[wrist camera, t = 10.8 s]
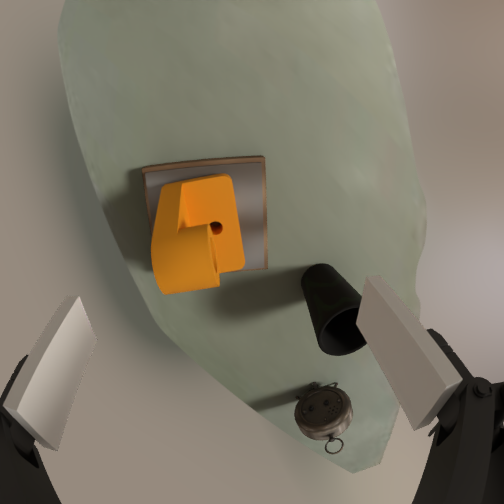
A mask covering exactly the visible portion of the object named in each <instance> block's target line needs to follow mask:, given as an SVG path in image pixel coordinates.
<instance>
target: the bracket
mask: <svg viewBox="0 0 504 504" xmlns="http://www.w3.org/2000/svg"><path fill="white" fill-rule="evenodd" d="M214 221H217V222H220V223H221V225H220V226H218V227H214V226H212V225H211V224H210V223H211V222H214ZM151 259H152V266H153V271H154V275H155V278H156V281H157V284H158V286H159V288H160V290H161V291H162V293H164V294H165V295H167V294H173V293H180V292H187V291H193V290H200V289H206V288H212V287H219V285H220V277H219V273H223V272H229V271H235V270H240V269H242V268H243V267H244V265H245V257H244V250H243V244H242V238H241V232H240V226H239V220H238V214H237V207H236V201H235V195H234V189H233V183H232V179H231V177H230V176H229V175H227V174H225V173H221V174H215V175H210V176H204V177H199V178H193V179H188V180H183V181H178V182H174V183H169V184H165V185H164V186H163V187H162V189H161V193H160V198H159V203H158V208H157V214H156V219H155V225H154V230H153V236H152V242H151Z"/></svg>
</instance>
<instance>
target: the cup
mask: <svg viewBox="0 0 504 504" xmlns="http://www.w3.org/2000/svg"><path fill="white" fill-rule="evenodd" d="M301 286H302V289H303V292H304V296H305V299H306V302H307V306H308V309H309V313H310V316H311V320H312V323H313V327H314V330H315V334H316V337H317V341H318V344H319V347H320V348H321V350H322V351H323V352H325V353H326V354H329V355H334V356H341V355H347V354H350V353H353V352H355V351H357V350H359V349H360V348H362V347H363V346H365V345H366V344H367V342H366V340H365V338H364V337H363V335H362V333H361V331H360V330H359V328H358V326H357V325H356V321H357V317H358V313H359V308H360V304H361V299H362V296H361V295H360V294H359V293H358V292H357V291H356V290H355V289H354V288H353V287H352V286H351V285H350V284H349V283H348V282H347V281H346V280H345V279H344V278H343V277H342V276H341V275H340V274H339V273H338V272H337V271H336V270H335V269H334V268H333V267H332V266H330V265H328V264H316V265H314V266H312V267H310V268H309V269H308V270H307V271H306V272H305V273H304V275H303V277H302V280H301Z"/></svg>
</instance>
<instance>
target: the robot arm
mask: <svg viewBox="0 0 504 504" xmlns="http://www.w3.org/2000/svg"><path fill="white" fill-rule="evenodd" d="M356 325H357V326H358V328H359V330H360V331H361V333H362V335H363V337H364V338H365V340H366V342H367V344H368V345H369V347H370V349H371V351H372V352H373V354H374V356H375V358H376V360H377V361H378V363H379V365H380V367H381V369H382V370H383V372H384V374H385V376H386V378H387V380H388V381H389V383H390V385H391V387H392V389H393V391H394V393H395V395H396V396H397V398H398V400H399V402H400V404H401V406H402V408H403V410H404V412H405V414H406V416H407V418H408V420H409V422H410V424H411V426H412V428H413V430H414V431H415V430H417V429H419V428H422V427H424V426H426V425H429V424H430V423H431V422H432V420H433V419H434V418H435V417H436V416H437V417H438V419H439V422H438V423H437V424H436V426H435V427H434V428H433V429H432V430H431V431H430V433H429V435H428V436H431V435H432V434H433V433H434V432H435V434H434V438H433V442H432V446H431V449H430V453H429V456H428V460H427V463H426V466H425V469H424V472H423V475H422V478H421V481H420V484H419V487H418V490H417V492H416V495H415V497H414V500H413V502H412V504H504V426H503V422H504V382H501V383H494V384H491V383H490V382H489V381H488V380H486V379H484V378H481V377H475V378H474V377H473V376H472V375H471V373H470V372H469V371H468V369H467V368H466V367H465V366H464V364H463V363H462V361H461V360H460V359H459V357H458V356H457V355H456V353H455V352H453V350H452V348H451V347H450V346H448V343H447V342H446V341H445V339H444V338H443V337H442V336H441V335H440V334H439V333H437V332H436V331H434V330H433V329H427V330H426V329H425V328H424V327H423V325H421V323H420V322H419V320H418V319H417V318H416V317H415V316H414V314H413V313H412V312H411V311H410V309H409V308H408V307H407V306H406V305H405V303H404V302H403V301H402V300H401V299H400V298H399V296H398V295H397V294H396V293H395V292H394V291H393V289H392V288H391V287H390V286H389V285H388V284H387V283H386V281H385V280H384V279H383V278H382V277H381V276H380V275H378V276H370V277H366V280H365V285H364V290H363V295H362V299H361V304H360V308H359V313H358V317H357V321H356ZM96 343H97V338H96V336H95V333H94V331H93V329H92V326H91V324H90V322H89V319H88V317H87V314H86V312H85V309H84V307H83V304H82V302H81V299H80V296H66V298H65V299H64V301H63V302H62V303H61V305H60V306H59V308H58V309H57V311H56V312H55V314H54V315H53V317H52V318H51V320H50V321H49V323H48V324H47V326H46V328H45V329H44V331H43V332H42V334H41V335H40V337H39V339H38V340H37V342H36V344H35V345H34V347H33V349H32V350H31V352H30V354H29V355H26V356H25V357H24V358H23V359H22V360H21V361H20V362H19V363H18V365H17V367H16V369H15V370H14V373H13V374H12V376H11V378H10V380H9V382H8V383H7V386H6V388H5V389H4V391H3V393H2V395H1V398H0V504H61V502H60V500H59V498H58V496H57V494H56V492H55V490H54V488H53V486H52V484H51V481H50V479H49V477H48V475H47V472H46V470H45V467H44V465H43V462H42V460H41V457H40V455H39V452H38V449H37V448H36V446H35V445H34V442H35V440H37V441H38V442H39V443H40V444H41V445H42V446H43V447H46V448H49V449H52V450H55V451H58V448H59V445H60V441H61V438H62V435H63V431H64V428H65V425H66V422H67V418H68V415H69V413H70V409H71V407H72V404H73V401H74V398H75V395H76V393H77V390H78V387H79V385H80V382H81V379H82V377H83V374H84V372H85V369H86V367H87V364H88V362H89V359H90V357H91V354H92V352H93V349H94V347H95V345H96Z"/></svg>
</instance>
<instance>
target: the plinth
mask: <svg viewBox="0 0 504 504" xmlns="http://www.w3.org/2000/svg"><path fill="white" fill-rule="evenodd" d="M221 173H225V174H227V175H229V176H230V177H231V179H232V183H233V189H234V195H235V201H236V207H237V214H238V220H239V226H240V232H241V238H242V244H243V250H244V257H245V265H244V267H243V268H242V269H240V270H235V271H229V272H237V271H249V270H261V269H268V255H267V207H266V171H265V157H264V156H241V157H226V158H212V159H201V160H191V161H181V162H172V163H164V164H156V165H149V166H146V167H144V168H142V175H143V183H144V190H145V197H146V204H147V211H148V217H149V224H150V229H151V235H152V236H153V230H154V225H155V219H156V214H157V208H158V203H159V198H160V193H161V189H162V187H163V186H164V185H165V184H169V183H174V182H178V181H183V180H188V179H193V178H199V177H204V176H210V175H215V174H221ZM210 224H211V225H212V226H214V227H218V226H220V225H221V223H220V222H217V221H214V222H211V223H210ZM223 273H224V272H223Z"/></svg>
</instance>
